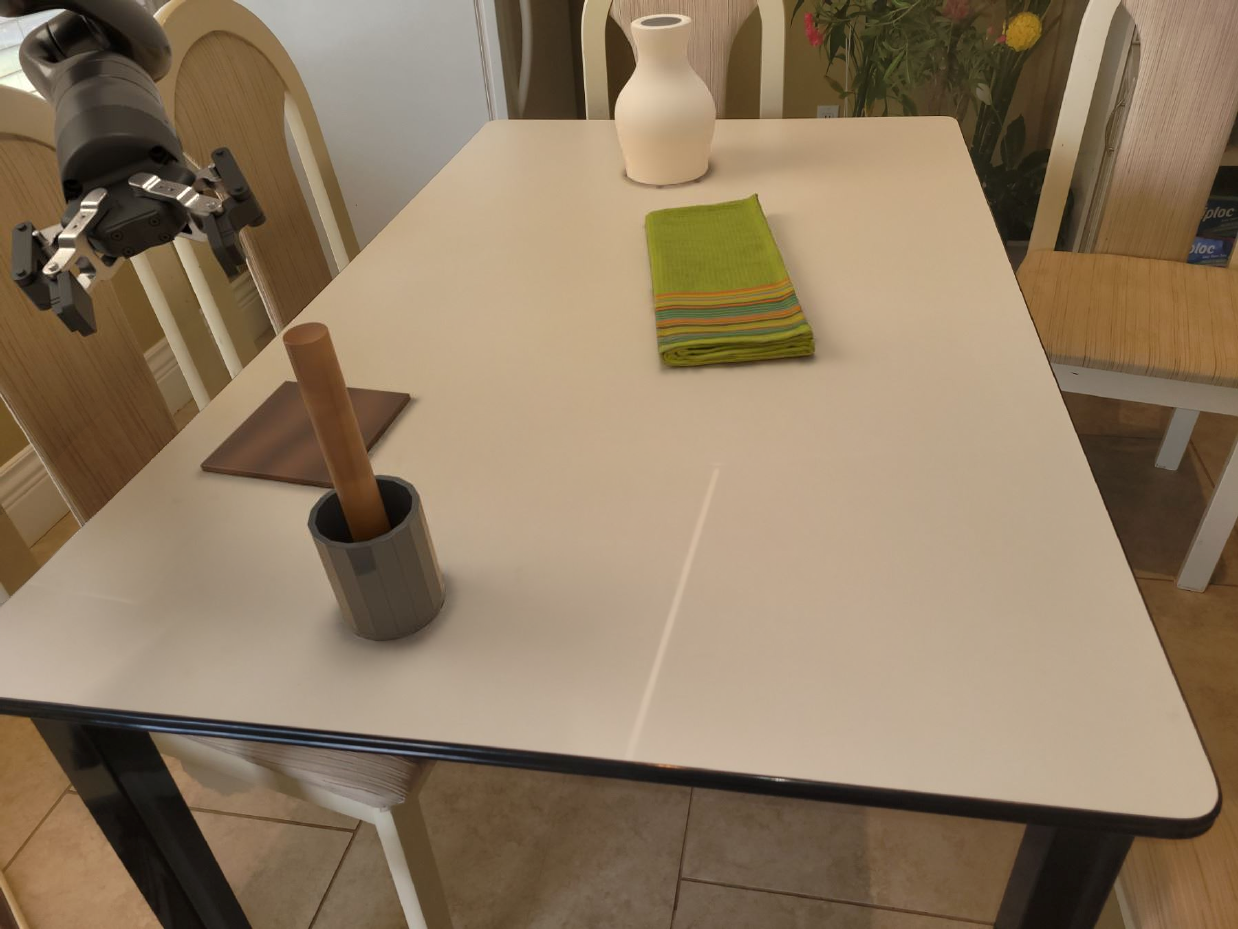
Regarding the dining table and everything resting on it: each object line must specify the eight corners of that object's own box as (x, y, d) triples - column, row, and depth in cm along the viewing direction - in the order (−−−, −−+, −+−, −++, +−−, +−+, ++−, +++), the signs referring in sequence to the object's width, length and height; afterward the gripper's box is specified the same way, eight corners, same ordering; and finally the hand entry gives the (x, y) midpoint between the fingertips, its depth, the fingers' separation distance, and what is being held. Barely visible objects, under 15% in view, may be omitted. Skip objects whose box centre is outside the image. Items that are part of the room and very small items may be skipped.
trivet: (201, 470, 80) (199, 465, 80) (287, 385, 90) (285, 380, 90) (338, 489, 76) (336, 483, 76) (411, 398, 87) (409, 393, 86)
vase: (696, 146, 137) (694, 2, 124) (730, 177, 126) (731, 23, 113) (607, 161, 134) (595, 16, 122) (633, 194, 123) (623, 39, 111)
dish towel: (660, 371, 87) (658, 342, 85) (643, 223, 115) (641, 199, 113) (817, 359, 87) (819, 330, 85) (761, 213, 115) (762, 189, 113)
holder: (324, 631, 64) (286, 539, 58) (373, 559, 69) (343, 469, 64) (417, 648, 62) (387, 555, 56) (460, 573, 67) (437, 481, 62)
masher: (347, 615, 64) (245, 351, 50) (378, 568, 67) (291, 310, 54) (407, 625, 63) (319, 358, 49) (436, 577, 66) (361, 315, 53)
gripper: (-25, 146, 56) (-19, 294, 46) (196, 66, 58) (245, 191, 49) (51, 242, 62) (71, 389, 52) (249, 165, 64) (302, 293, 55)
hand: (155, 293), depth 50 cm, fingers open, 8 cm apart
